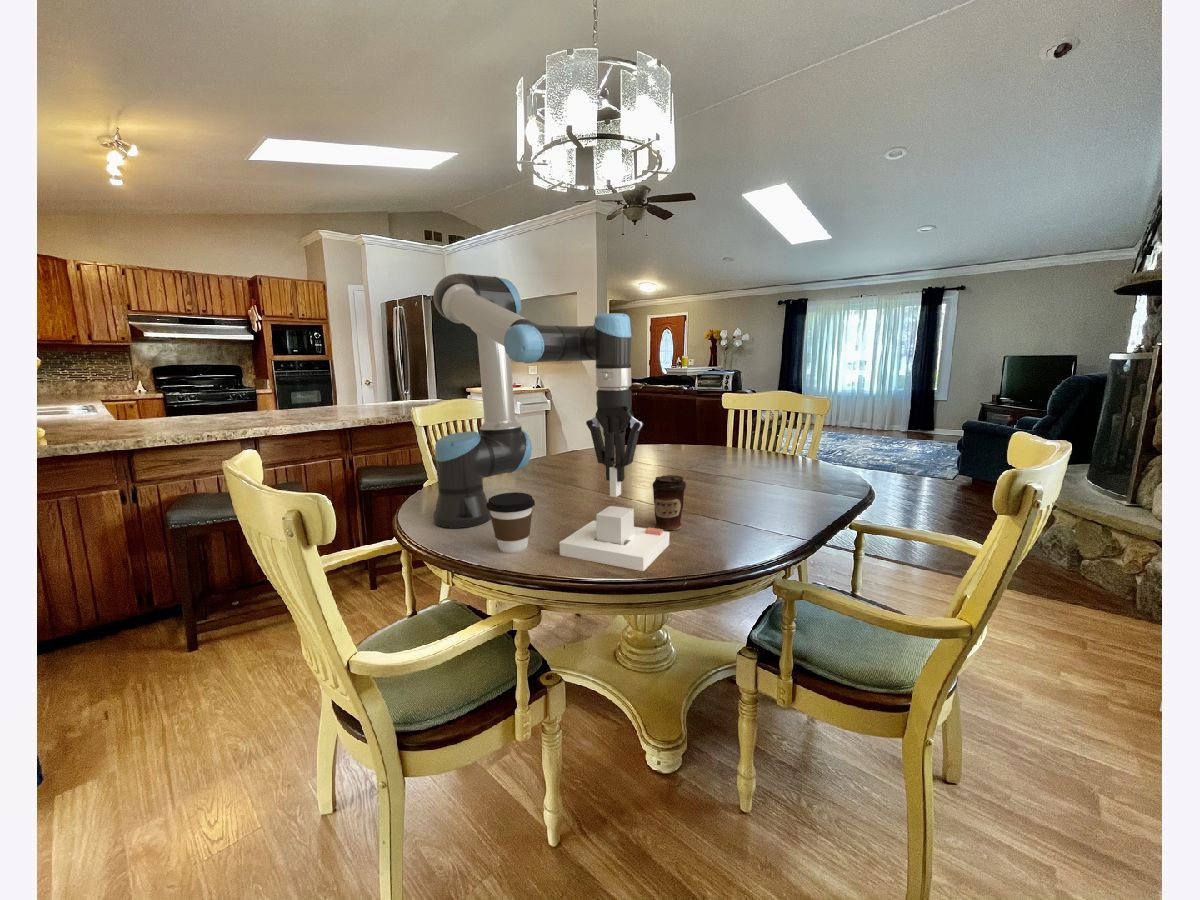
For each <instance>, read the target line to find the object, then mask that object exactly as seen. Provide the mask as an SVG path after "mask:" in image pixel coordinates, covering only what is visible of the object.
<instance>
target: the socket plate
mask: <svg viewBox="0 0 1200 900" xmlns="http://www.w3.org/2000/svg"><path fill="white" fill-rule="evenodd" d="M558 546H559V556H562V557H567V558H571V559H572V558H573V559H578V560H583V561H588V562H593V563H598V564H599V563H600V564H602V565H603V564H604V565H608V566H609V565H610V566H612V567H613V566H615V567H617V568H618V567H619V568H625V569H629V570H634V571H635V570H636V571H640V572H644V571H645V570H647V568H648V567H649V566H651V564H652V563H653V562H654V561H655V560H656V559H657V558H658V557H659V556H660V555H661V554H662V553H663V552H664V551H665V549H667V547H669V546H670V531H666V530H663V529H659V528H657V527H656V528H655V527H650V526H648V527H647V528H646V527H640V526H639V527H638V526H634V534H633V535H632V536H631V537H630V538H628V539H627V540H626V541H625V542H624V545H619V544H616V543H610V542H601V541H598V540H597V530H596V520H592V521H590V522H588V523H587V524H586V525H584V526H582V527H581V528H579V529H578V530H576V531H575V532H573V533H572V534H570V535H568V536H567V537H566V538H564V539H563V540H560V541H559V545H558Z"/></svg>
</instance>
